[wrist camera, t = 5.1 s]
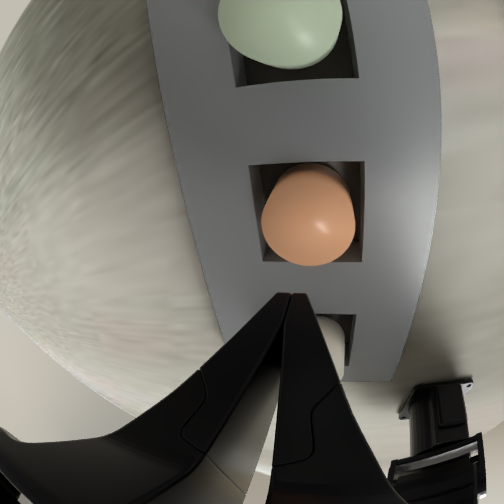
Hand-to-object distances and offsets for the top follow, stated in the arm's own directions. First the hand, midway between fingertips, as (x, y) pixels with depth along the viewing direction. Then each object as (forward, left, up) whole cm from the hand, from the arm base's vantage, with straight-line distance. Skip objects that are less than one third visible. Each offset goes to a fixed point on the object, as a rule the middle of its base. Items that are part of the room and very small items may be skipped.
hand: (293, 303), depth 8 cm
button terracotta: (0, 0, -8) cm, 8 cm away
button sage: (+8, 0, -6) cm, 10 cm away
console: (0, 0, -8) cm, 8 cm away
